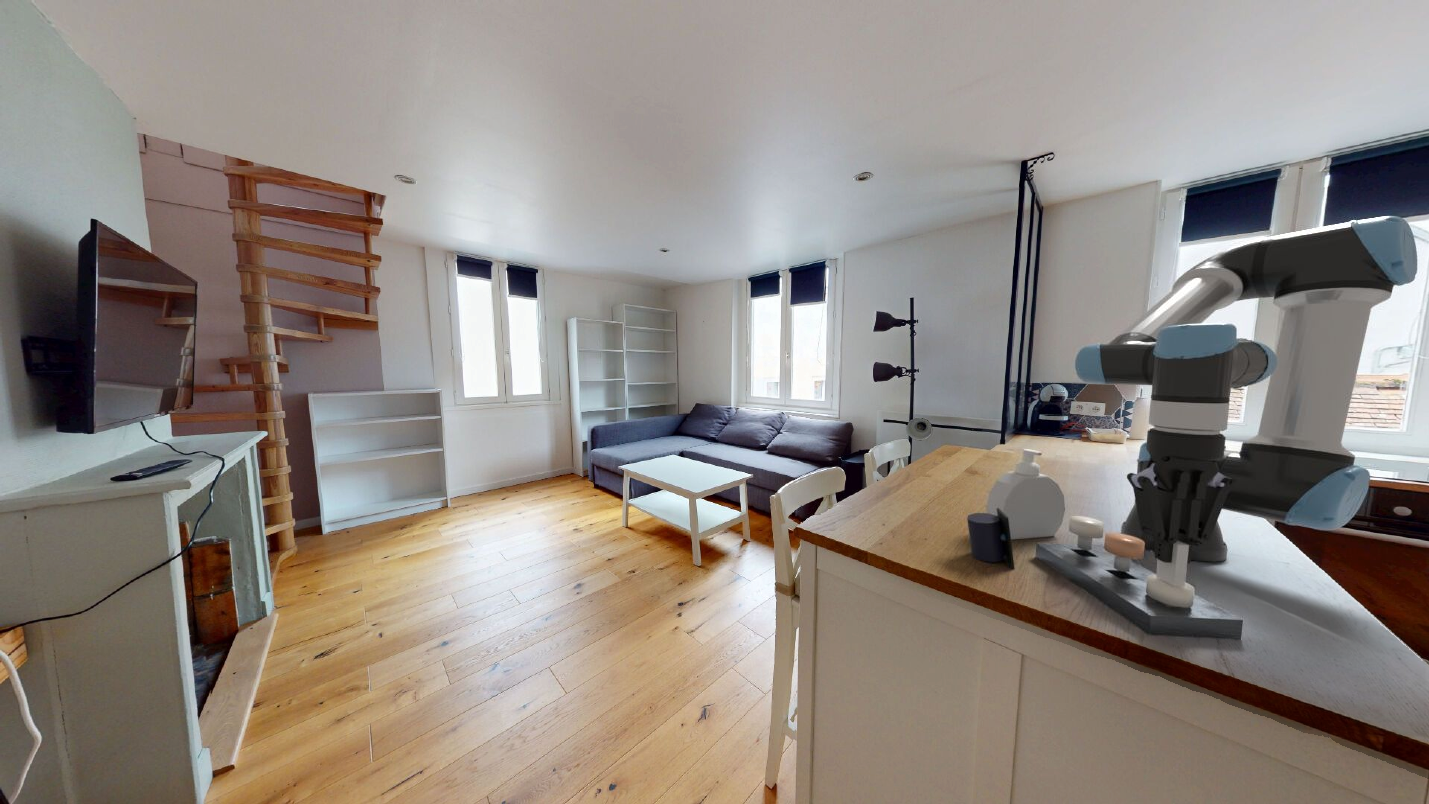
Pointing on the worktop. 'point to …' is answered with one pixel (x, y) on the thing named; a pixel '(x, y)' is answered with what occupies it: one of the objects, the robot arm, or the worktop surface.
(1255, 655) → the worktop surface
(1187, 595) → the knob
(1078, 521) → the knob
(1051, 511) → the soap bottle
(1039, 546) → the mount
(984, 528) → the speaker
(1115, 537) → the knob middle
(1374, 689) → the worktop surface
